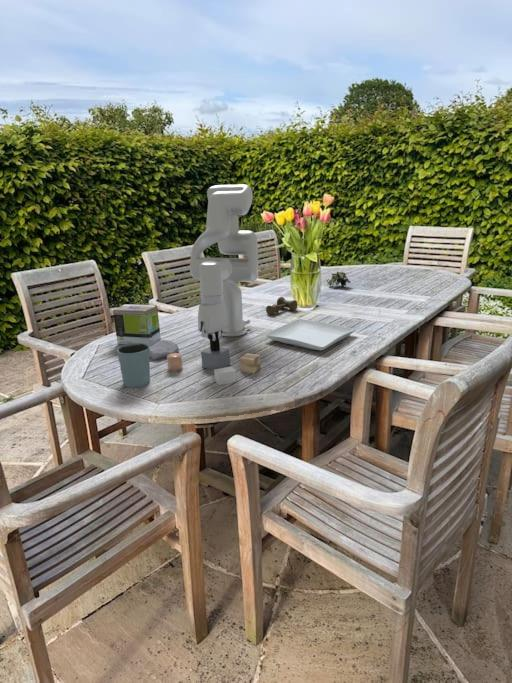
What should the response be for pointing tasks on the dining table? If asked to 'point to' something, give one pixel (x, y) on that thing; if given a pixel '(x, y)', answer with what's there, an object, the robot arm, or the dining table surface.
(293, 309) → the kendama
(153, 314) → the tea box
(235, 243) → the robot arm
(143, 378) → the blue-grey cup
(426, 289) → the dining table surface
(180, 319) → the dining table surface
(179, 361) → the terracotta cylinder
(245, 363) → the oak cube
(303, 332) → the square plate
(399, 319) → the dining table surface
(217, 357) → the slate block
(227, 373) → the pale grey block
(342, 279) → the miniature tree
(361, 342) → the dining table surface
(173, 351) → the stone block
